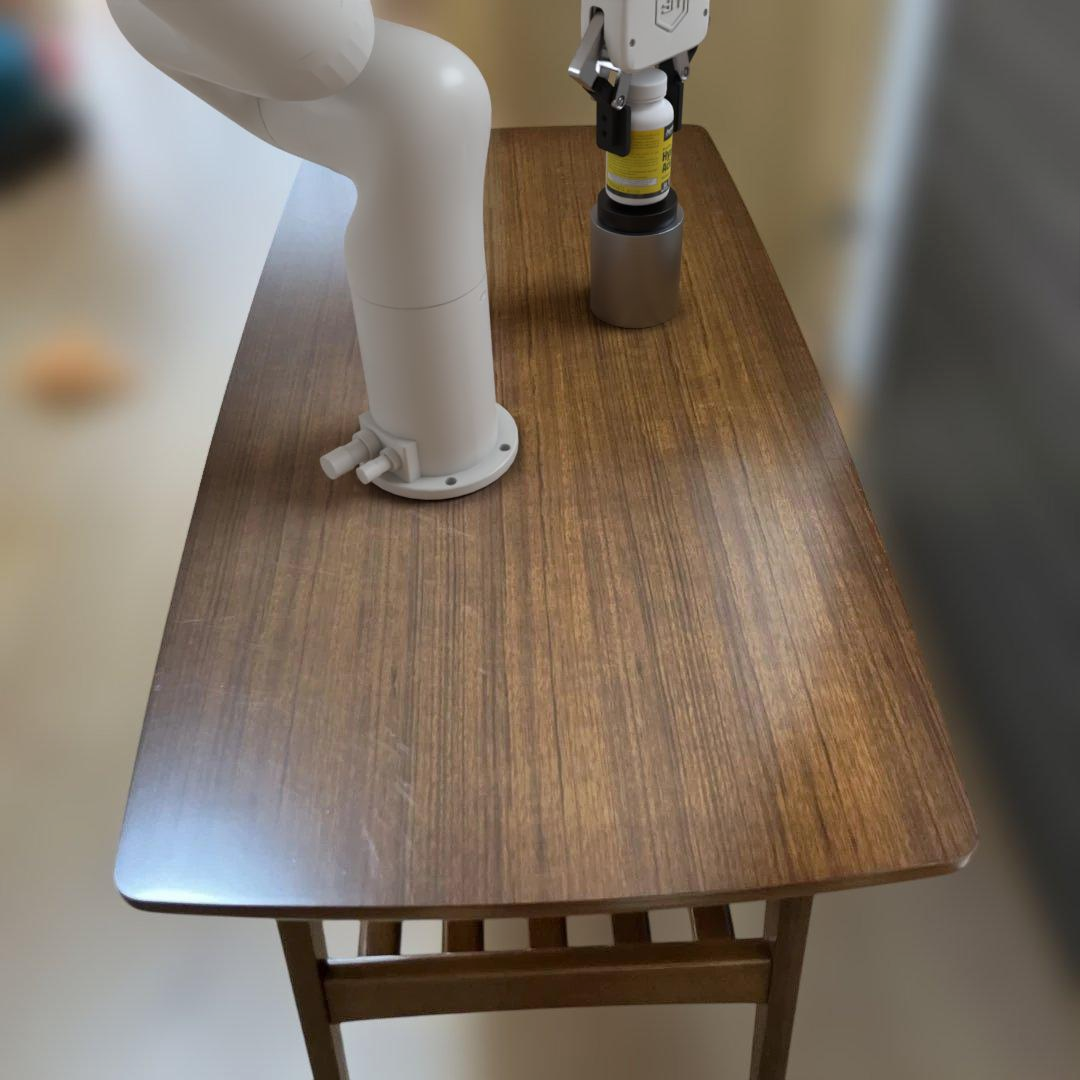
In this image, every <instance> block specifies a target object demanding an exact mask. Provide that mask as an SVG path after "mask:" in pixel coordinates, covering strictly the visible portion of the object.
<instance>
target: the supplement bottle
mask: <svg viewBox="0 0 1080 1080" xmlns="http://www.w3.org/2000/svg"><path fill="white" fill-rule="evenodd" d="M666 91H667V75H666V73H665V72H663V71H662V70H660V69H657V68H655V67H654V66H652V67H649V68H647V69H644V70H642V71H639V72H637V73H632V78H631V82H630V86H629V90H628V95H627V99H626V103H625V105H627V106H630V107H631V143H630V153H629V155H628V156H625V157H620V156H617V155H615V154H612V153H610V152H607V151H605V187H606V192H607V194H608V196H609V197H610V198H611V199H613V200H615V201H616V202H619V203H622V204H626V205H648V204H653V203H656V202H659V201H661V200H662V199H664V198H665V197H666V196H667V194H668V192H669V186H670V184H671V168H672V167H671V166H672V154H673V153H672V150H673V133H674V132H673V117H674V112H673V107H672V105H671V104H670V102H669V101H668V100H666V99H665V98H663V97H665V95H666ZM670 187H671V186H670Z"/></svg>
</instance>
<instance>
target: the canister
mask: <svg viewBox="0 0 1080 1080" xmlns="http://www.w3.org/2000/svg"><path fill="white" fill-rule="evenodd" d="M678 199H679V197H678V194H677V192H676V190H675V189H674V188H672V187H671V186H669V192H668V194H667V196H666V197H665V198H664V199H662V200H661V201H659V202H656V203H653V204H648V205H626V204H622V203H619V202H616V201H615V200H613V199H611V198H610V197H609V196H608V194H607V192H606V186H604V187H603V188H602V189H601V190H600V191H599V192H598V194H597V197H596V201H597V202H596V203H595V204H594V205H593V206H592V208H591V210H590V213H589V215H590V216H589V217H590V218H589V220H590V221H589V225H590V227H589V229H590V230H589V237H590V238H589V239H590V242H589V248H590V249H589V251H590V252H589V254H590V255H589V271H590V273H589V301H590V302H589V305H590V310H591V312H592V313H593V315H594V316H595V318H598V319H599V320H600V321H601V322H604V323H606V324H608V325H611V326H613V327H618V328H623V329H646V328H652V327H656V326H659V325H661V324H664V323H665V322H668V321H669V320H670V319H672V318H673V317H674V316H675V314H676V313H677V311H678V309H679V301H680V300H679V299H680V283H681V269H682V253H683V237H684V222H685V220H684V219H685V212H684V209H683V207H682V206H681V205H680V204H679V203H678V202H679V200H678Z"/></svg>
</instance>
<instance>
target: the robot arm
mask: <svg viewBox="0 0 1080 1080" xmlns="http://www.w3.org/2000/svg"><path fill="white" fill-rule="evenodd" d="M105 3H106V5H107V8H108V10H109V13H110V16H111V17H112V19H113V21H114V24H115V25H116V27H117V28H118V30H119V31H120V33H121V34H122V35H123V37H124V38H125V39H126V41H127V42H128V43H129V45H130V46H131V47H132V48H133V49H134V50H135V51H136V52H137V53H138V54H139V55H140V56H141V57H142V58H143V59H144V60H146V61H147V62H148V63H149V64H151V65H152V66H153V67H155V68H156V69H157V70H159V71H160V72H161V73H163V74H164V75H166V76H167V77H168V78H170V79H171V80H173V81H174V82H176V83H177V84H179V85H180V86H181V87H183V88H184V89H186V90H187V91H189V92H190V93H191V94H193V95H194V96H195V97H197V98H198V99H200V100H201V101H203V102H204V103H206V104H207V105H208V106H210V107H211V108H213V109H214V110H216V111H217V112H219V113H220V114H221V115H223V116H225V118H227V119H229V120H231V121H232V122H233V123H234V124H236V125H238V126H239V127H241V128H242V129H244V130H245V131H246V132H248V133H249V134H251V135H253V136H254V137H256V138H258V140H259V139H260V140H261V141H263V142H264V143H267V144H268V145H270V146H272V147H274V148H276V149H278V150H281V151H282V152H285V153H288V154H290V155H292V156H294V157H297V158H300V159H303V160H305V161H308V162H311V163H313V164H315V165H319V166H320V167H324V168H326V169H329V170H330V171H332V172H334V173H337V174H338V175H340V176H341V175H342V176H343V177H346V178H347V179H349V180H350V181H351V182H352V183H353V185H354V186H355V189H356V196H357V197H356V202H355V205H354V208H353V211H352V213H351V216H350V218H349V219H348V223H347V225H346V228H345V232H344V236H343V237H344V238H343V258H344V259H343V260H344V266H345V272H346V280H347V284H348V285H349V291H350V299H351V304H352V309H353V315H354V321H355V327H356V334H357V341H358V346H359V351H360V352H359V353H360V357H361V364H362V369H363V375H364V381H365V388H366V394H367V398H368V399H367V400H368V406H369V409H367V410H366V411H363V412H362V413H361V414H359V415H358V424H359V427H360V430H358V431H356V432H355V433H353V435H352V436H351V441H349V442H348V443H346V444H345V445H342V446H341V445H340V446H338V447H336V448H335V449H333V450H331V451H328V453H325V454H323V455H322V456H320V458H319V463H320V466H321V469H322V471H323V473H324V474H325V475H326V476H327V477H328V478H329V479H330V480H333V481H335V480H337V479H338V478H340V477H342V476H343V475H346V474H347V473H349V472H350V471H352V470H354V469H355V474H356V476H357V478H358V480H359V481H360V482H361V483H362V484H363V485H367V484H369V483H371V482H372V484H374V485H376V486H377V487H378V488H380V489H382V490H384V491H386V492H388V493H391V494H393V495H396V496H399V497H404V498H409V499H416V500H423V501H424V500H426V501H427V500H428V501H429V500H445V499H451V498H458V497H461V496H464V495H468V494H473V493H475V492H477V491H479V490H481V489H483V488H485V487H487V486H489V485H491V484H492V483H494V482H495V481H497V480H498V479H499V478H501V476H503V475H504V474H505V473H506V472H507V471H508V470H509V469H510V467H511V466H512V464H513V463H514V461H515V459H516V457H517V454H518V452H519V443H520V442H519V432H518V426H517V424H516V421H515V419H514V417H513V416H512V415H511V413H510V412H509V411H508V410H507V408H504V406H502V405H501V404H499V403H498V402H497V399H496V385H495V383H496V382H495V372H494V369H495V368H494V355H493V344H492V342H493V341H492V329H491V317H490V301H489V300H490V299H489V286H488V274H487V273H488V272H487V265H486V251H485V233H484V232H485V231H484V191H485V190H484V188H485V187H484V186H485V176H486V169H487V168H486V167H487V161H488V160H487V159H488V152H489V145H490V139H491V130H492V113H493V112H492V111H493V110H492V102H491V101H492V100H491V95H490V90H489V87H488V84H487V82H486V80H485V78H484V76H483V74H482V72H481V71H480V69H479V67H478V66H477V65H476V64H475V63H474V61H473V60H472V59H471V58H470V57H469V56H468V55H467V54H466V53H465V52H463V51H462V50H461V49H460V48H459V47H458V46H456V45H454V44H453V43H451V42H449V41H448V40H445V39H443V38H441V37H439V36H437V35H435V34H433V33H429V32H427V31H425V30H421V29H419V28H415V27H412V26H408V25H405V24H401V23H398V22H394V21H391V20H386V19H383V18H380V17H375V16H374V10H373V6H372V3H371V0H105ZM710 25H711V16H710V0H581V2H580V36H581V37H580V39H581V40H580V43H579V45H578V47H577V49H576V52H575V53H574V56H573V57H572V58H571V62H570V64H569V66H568V69H567V73H568V76H569V77H570V78H572V79H573V80H574V82H576V83H577V84H579V85H580V86H581V88H582V89H583V90H584V91H586V93H587V94H588V95H589V98H590V100H591V101H593V102H596V104H595V105H596V108H595V109H596V110H595V113H596V116H595V121H596V122H595V124H596V125H595V126H596V127H595V131H596V132H595V133H596V134H595V144H596V146H597V148H598V149H600V150H603V151H605V152H606V151H607V152H610V153H612V154H615V155H617V156H620V157H625V156H628V155H629V153H630V143H631V107H630V106H627V105H625V103H626V99H627V95H628V90H629V86H630V82H631V78H632V73H637V72H639V71H642V70H644V69H647V68H649V67H654V68H657V69H660V70H662V71H663V72H665V73H666V75H667V91H666V95H665V97H663V98H665V99H666V100H668V101H669V102H670V104H671V105H672V107H673V112H674V117H673V133H678V132H679V131H681V129H682V124H683V122H682V121H683V106H684V92H685V91H684V90H685V81H687V79H688V78H689V76H690V75H691V65H690V63H691V62H692V60H693V58H694V57H695V54H696V52H697V51H698V48H699V45H700V44H701V43H702V42H703V41H704V39H706V36H707V33H708V29H709V27H710ZM611 71H613V72H616V75H615V80H614V85H612V83H610V81H609V78H610V73H611ZM358 465H359V467H357V468H355V467H356V466H358Z"/></svg>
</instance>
